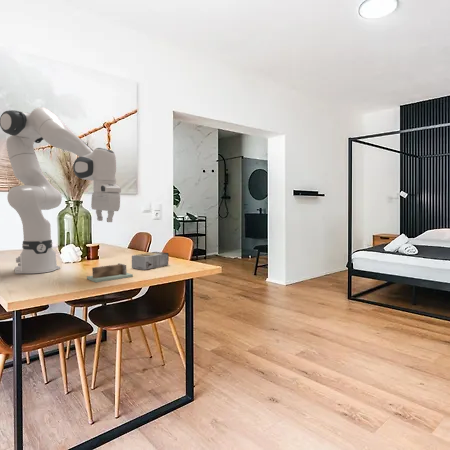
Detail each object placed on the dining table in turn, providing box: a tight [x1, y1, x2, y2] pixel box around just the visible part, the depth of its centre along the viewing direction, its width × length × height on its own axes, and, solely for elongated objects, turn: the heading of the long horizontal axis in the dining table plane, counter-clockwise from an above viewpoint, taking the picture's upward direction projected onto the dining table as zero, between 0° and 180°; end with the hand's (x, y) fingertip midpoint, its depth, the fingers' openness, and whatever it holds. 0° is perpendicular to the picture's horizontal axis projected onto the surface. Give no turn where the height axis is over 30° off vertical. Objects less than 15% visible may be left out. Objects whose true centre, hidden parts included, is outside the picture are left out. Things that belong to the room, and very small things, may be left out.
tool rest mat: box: [86, 272, 134, 283], centre depth 149 cm, size 9×16×1 cm, turn 132°
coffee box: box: [131, 251, 170, 271], centre depth 175 cm, size 9×6×16 cm
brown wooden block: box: [91, 263, 127, 278], centre depth 149 cm, size 13×6×4 cm, turn 134°
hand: (104, 221), depth 148 cm, fingers open, 8 cm apart
